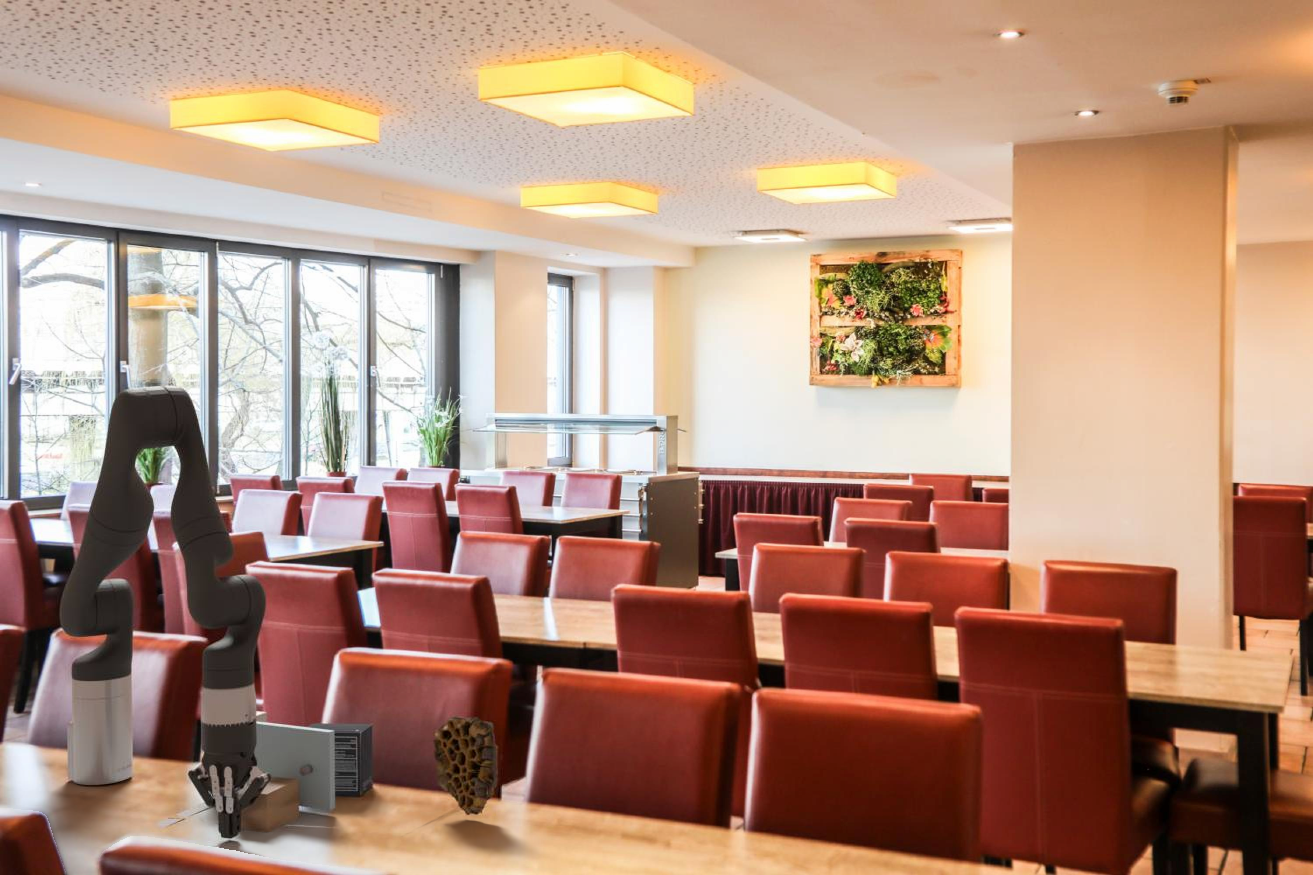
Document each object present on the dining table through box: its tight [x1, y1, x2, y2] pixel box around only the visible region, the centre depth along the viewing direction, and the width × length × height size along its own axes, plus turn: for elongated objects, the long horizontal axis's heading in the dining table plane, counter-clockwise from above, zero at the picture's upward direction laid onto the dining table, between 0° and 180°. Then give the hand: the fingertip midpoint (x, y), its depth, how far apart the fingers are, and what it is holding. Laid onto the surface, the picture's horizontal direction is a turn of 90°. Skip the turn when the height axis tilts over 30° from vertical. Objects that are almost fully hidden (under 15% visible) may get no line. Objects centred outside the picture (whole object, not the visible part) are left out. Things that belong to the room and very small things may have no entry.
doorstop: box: [241, 776, 300, 833], centre depth 191 cm, size 5×8×6 cm, turn 161°
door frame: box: [154, 710, 268, 828], centre depth 197 cm, size 3×32×14 cm, turn 162°
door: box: [247, 721, 336, 811], centre depth 198 cm, size 3×18×12 cm, turn 66°
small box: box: [307, 722, 374, 797], centre depth 208 cm, size 11×6×10 cm, turn 84°
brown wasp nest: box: [432, 716, 499, 816], centre depth 195 cm, size 11×4×15 cm, turn 74°
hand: (230, 836), depth 182 cm, fingers closed
